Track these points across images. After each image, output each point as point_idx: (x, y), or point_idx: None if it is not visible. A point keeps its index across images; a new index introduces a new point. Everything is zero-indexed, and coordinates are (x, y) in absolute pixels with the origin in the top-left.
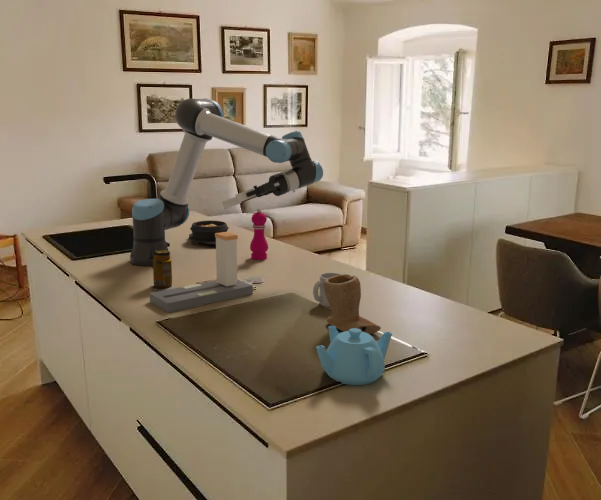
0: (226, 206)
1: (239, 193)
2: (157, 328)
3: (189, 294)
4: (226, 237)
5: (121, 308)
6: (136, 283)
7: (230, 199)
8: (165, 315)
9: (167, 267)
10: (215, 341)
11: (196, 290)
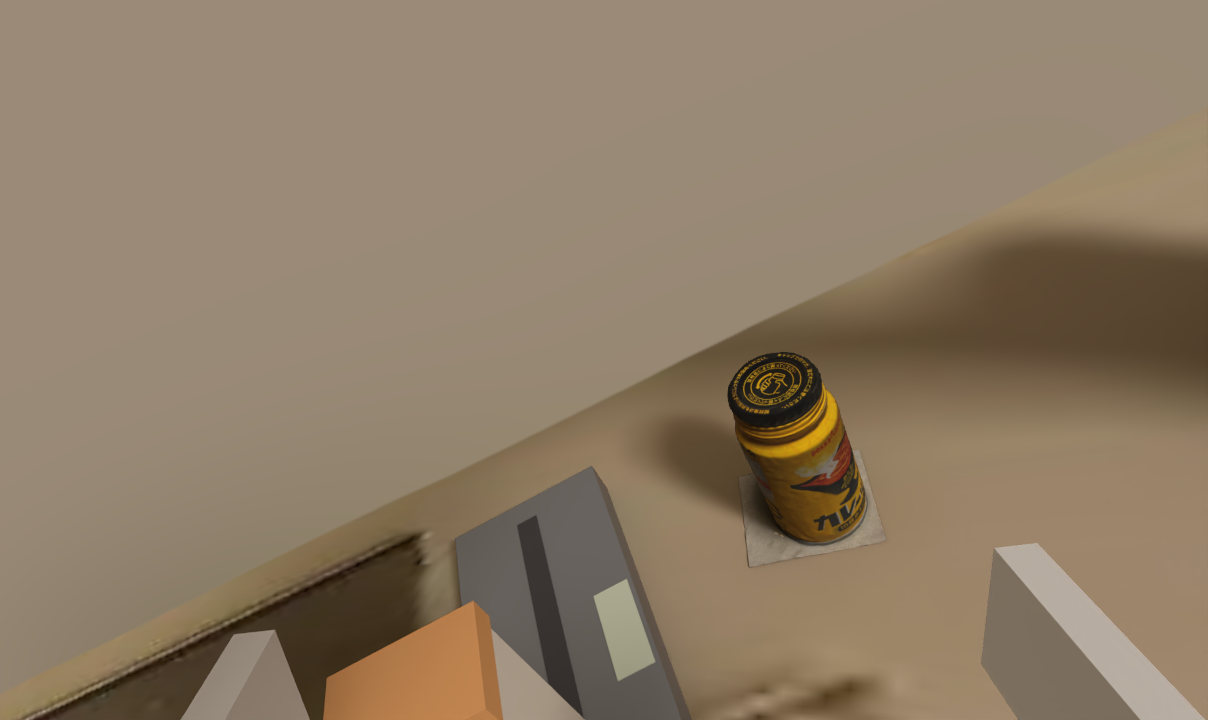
0: (1001, 667)
1: (198, 696)
2: (370, 541)
3: (514, 614)
4: (329, 687)
5: (576, 421)
6: (877, 398)
7: (1107, 701)
8: (453, 553)
9: (751, 465)
10: (184, 710)
11: (548, 645)
